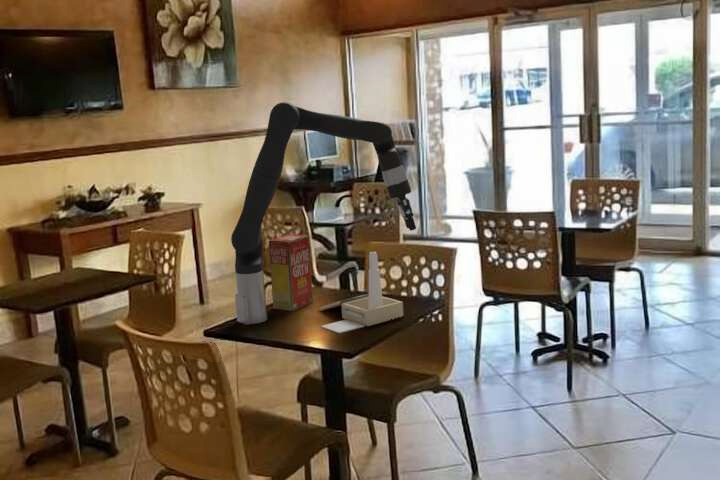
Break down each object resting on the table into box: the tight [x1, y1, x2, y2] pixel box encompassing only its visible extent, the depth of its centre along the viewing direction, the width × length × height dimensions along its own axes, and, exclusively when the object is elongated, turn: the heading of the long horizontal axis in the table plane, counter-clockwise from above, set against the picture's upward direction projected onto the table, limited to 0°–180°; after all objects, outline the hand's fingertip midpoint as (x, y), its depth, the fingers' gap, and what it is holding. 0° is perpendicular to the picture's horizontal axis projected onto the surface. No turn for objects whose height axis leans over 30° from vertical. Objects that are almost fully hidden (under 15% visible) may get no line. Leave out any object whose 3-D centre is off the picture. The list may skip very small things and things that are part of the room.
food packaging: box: [268, 233, 314, 312], centre depth 278 cm, size 13×9×25 cm
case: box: [339, 293, 404, 327], centre depth 259 cm, size 16×15×6 cm
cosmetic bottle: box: [368, 251, 383, 310], centre depth 258 cm, size 6×6×22 cm
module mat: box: [320, 319, 366, 334], centre depth 251 cm, size 10×10×1 cm
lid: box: [319, 293, 369, 311], centre depth 271 cm, size 15×13×1 cm
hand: (411, 228), depth 256 cm, fingers open, 8 cm apart
